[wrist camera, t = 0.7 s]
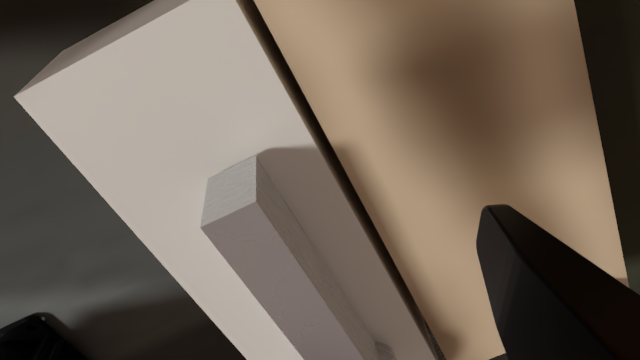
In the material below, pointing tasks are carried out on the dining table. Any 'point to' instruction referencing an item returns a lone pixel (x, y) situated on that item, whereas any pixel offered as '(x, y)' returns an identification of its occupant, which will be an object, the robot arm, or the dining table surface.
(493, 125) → the stepped wooden block
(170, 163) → the jamb
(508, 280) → the robot arm
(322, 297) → the bar
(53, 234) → the dining table surface
